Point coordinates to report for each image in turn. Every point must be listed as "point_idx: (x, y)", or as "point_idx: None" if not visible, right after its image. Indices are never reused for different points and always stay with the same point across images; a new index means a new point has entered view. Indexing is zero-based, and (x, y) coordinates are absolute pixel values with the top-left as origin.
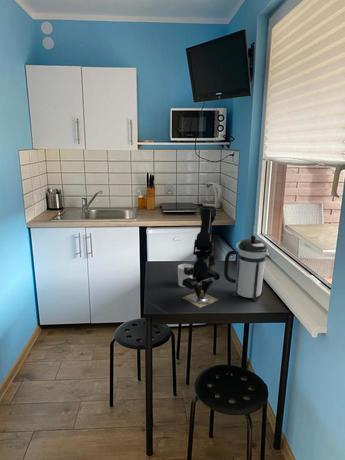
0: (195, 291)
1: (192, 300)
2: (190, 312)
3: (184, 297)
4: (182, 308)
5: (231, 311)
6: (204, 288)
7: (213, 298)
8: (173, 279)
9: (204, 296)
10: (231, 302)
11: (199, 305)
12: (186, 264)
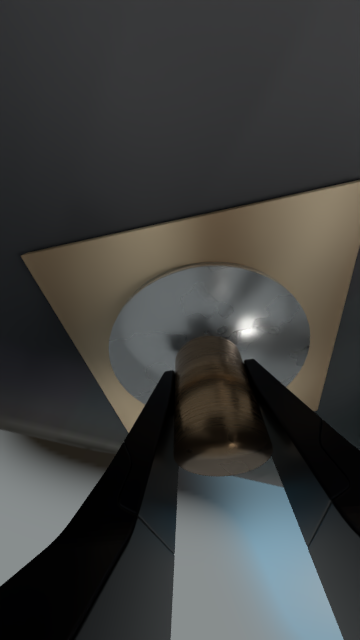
0: (131, 439)
1: (112, 361)
2: (51, 432)
3: (54, 264)
4: (3, 391)
5: (261, 476)
6: (285, 465)
7: (305, 386)
8: None
9: (257, 360)
10: (352, 437)
11: (137, 414)
12: None
